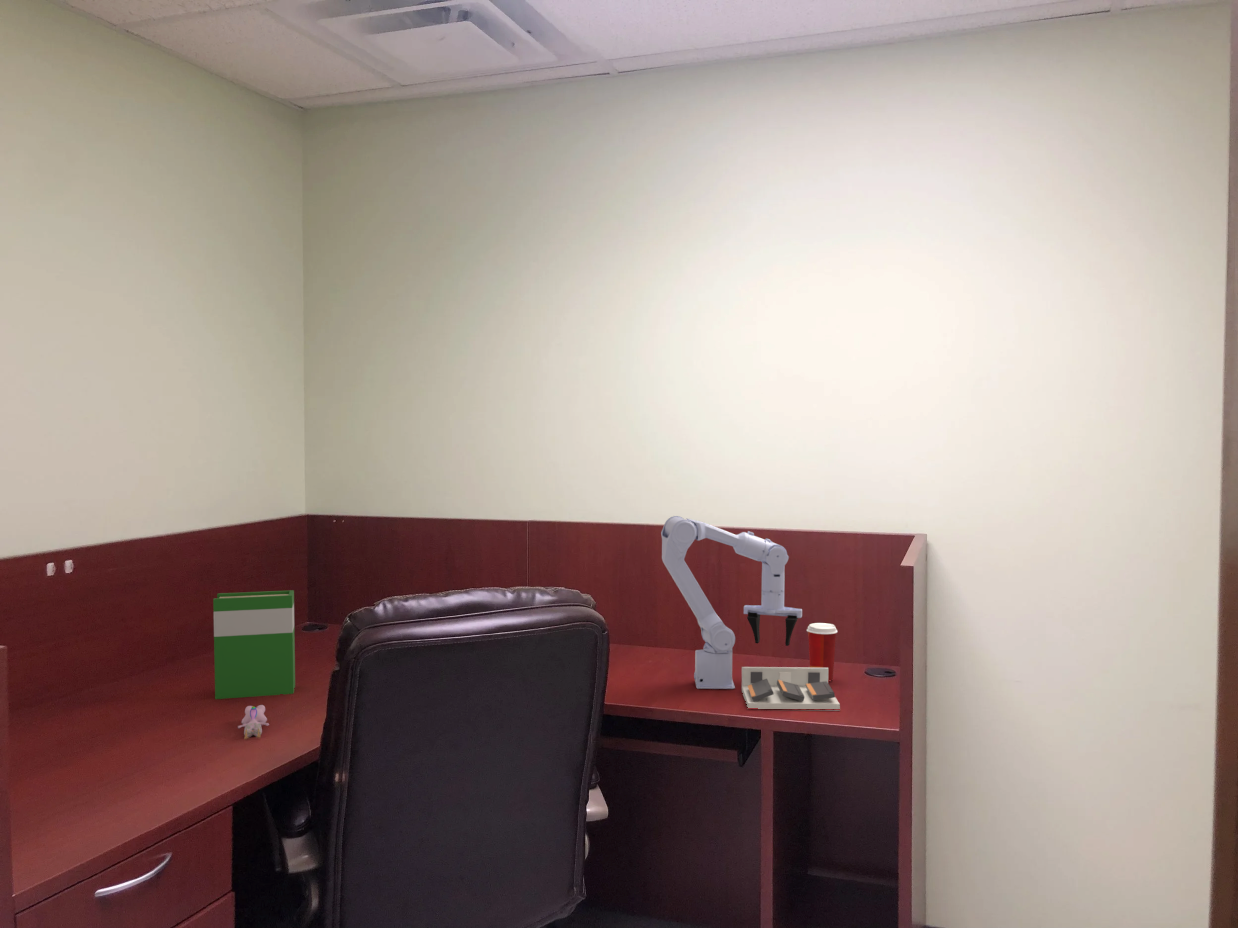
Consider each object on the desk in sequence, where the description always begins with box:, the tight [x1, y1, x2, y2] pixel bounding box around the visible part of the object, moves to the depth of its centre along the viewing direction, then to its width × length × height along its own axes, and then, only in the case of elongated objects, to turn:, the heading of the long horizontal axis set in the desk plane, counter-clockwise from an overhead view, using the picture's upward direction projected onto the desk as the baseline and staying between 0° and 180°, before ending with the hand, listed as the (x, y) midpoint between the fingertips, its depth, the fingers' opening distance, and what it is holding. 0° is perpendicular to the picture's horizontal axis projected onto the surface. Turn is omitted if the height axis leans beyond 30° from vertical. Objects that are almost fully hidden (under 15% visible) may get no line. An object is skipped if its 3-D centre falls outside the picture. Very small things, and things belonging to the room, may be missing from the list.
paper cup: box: [806, 622, 838, 681], centre depth 247 cm, size 8×8×14 cm
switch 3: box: [806, 681, 836, 700], centre depth 228 cm, size 5×10×1 cm, turn 178°
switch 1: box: [748, 679, 774, 702], centre depth 228 cm, size 5×10×1 cm, turn 178°
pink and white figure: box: [237, 704, 270, 740], centre depth 208 cm, size 6×6×15 cm
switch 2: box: [776, 680, 804, 701], centre depth 228 cm, size 5×10×1 cm, turn 179°
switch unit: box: [741, 666, 841, 710], centre depth 229 cm, size 21×15×6 cm
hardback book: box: [212, 589, 296, 700], centre depth 235 cm, size 18×7×24 cm, turn 105°
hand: (772, 643), depth 245 cm, fingers open, 7 cm apart
